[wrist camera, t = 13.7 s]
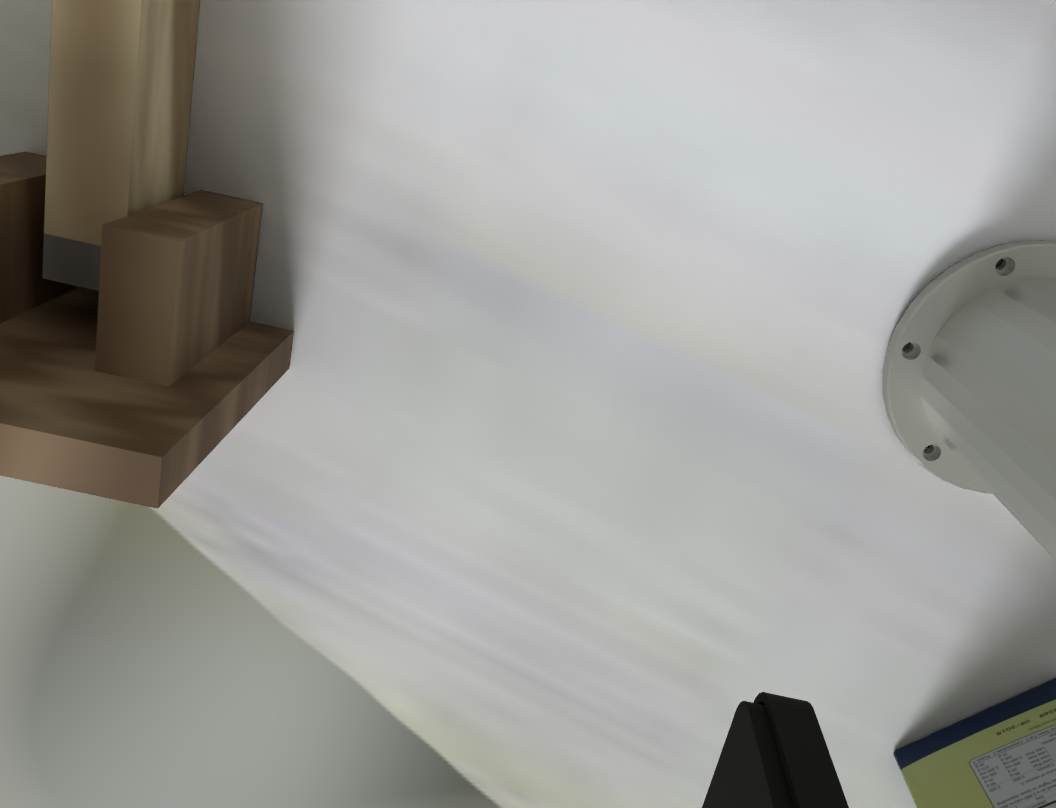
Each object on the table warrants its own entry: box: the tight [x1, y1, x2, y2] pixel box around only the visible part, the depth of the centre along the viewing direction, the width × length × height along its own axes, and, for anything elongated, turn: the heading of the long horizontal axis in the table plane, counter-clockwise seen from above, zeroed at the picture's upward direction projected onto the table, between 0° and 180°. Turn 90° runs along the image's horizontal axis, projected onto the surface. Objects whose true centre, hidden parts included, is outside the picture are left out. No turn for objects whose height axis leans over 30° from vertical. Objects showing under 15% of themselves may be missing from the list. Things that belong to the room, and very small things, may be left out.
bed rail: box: [42, 0, 200, 291], centre depth 40 cm, size 4×22×6 cm, turn 168°
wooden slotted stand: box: [0, 152, 294, 508], centre depth 39 cm, size 16×8×16 cm, turn 78°
